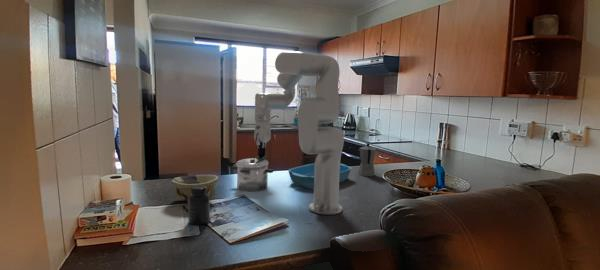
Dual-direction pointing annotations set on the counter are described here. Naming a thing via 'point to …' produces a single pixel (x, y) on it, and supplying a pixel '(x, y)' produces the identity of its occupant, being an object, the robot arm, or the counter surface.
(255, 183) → the pot
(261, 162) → the lid
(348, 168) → the casserole dish
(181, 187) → the bowl
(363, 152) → the coffeepot
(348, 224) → the counter surface
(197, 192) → the supplement bottle
